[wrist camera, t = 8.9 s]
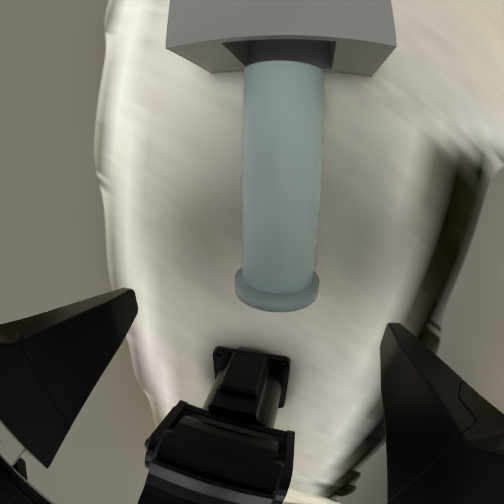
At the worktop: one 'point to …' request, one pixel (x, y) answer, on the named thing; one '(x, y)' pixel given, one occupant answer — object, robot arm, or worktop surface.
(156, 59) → the worktop surface
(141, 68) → the worktop surface
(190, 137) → the worktop surface
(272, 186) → the cylinder
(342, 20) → the box
